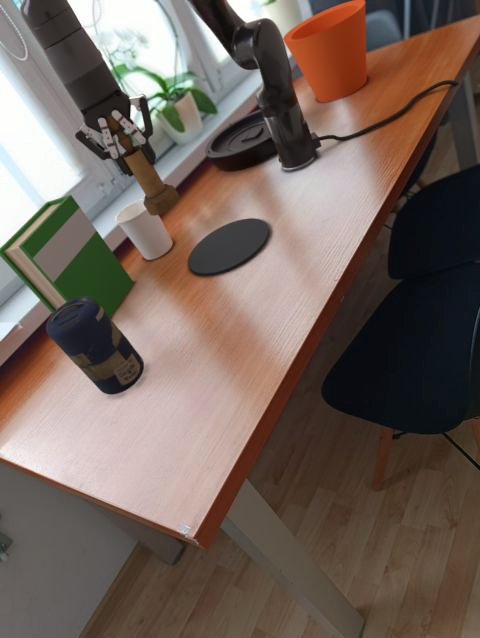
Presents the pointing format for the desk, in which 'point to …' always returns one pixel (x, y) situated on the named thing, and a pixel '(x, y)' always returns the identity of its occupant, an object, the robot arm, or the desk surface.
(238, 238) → the disc
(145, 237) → the white cup
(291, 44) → the flowerpot
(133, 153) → the brown wooden turned piece
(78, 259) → the hardback book
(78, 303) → the canister
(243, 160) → the black round plastic slab
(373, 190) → the desk surface
